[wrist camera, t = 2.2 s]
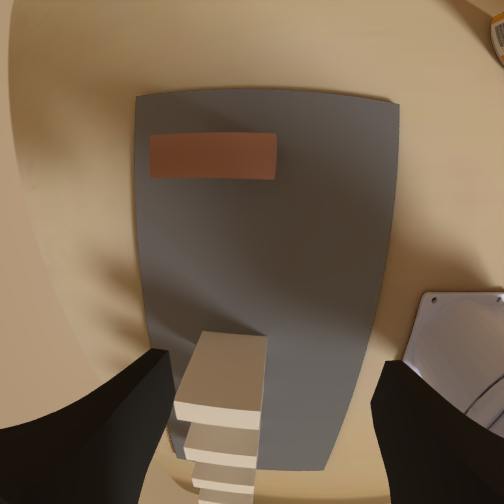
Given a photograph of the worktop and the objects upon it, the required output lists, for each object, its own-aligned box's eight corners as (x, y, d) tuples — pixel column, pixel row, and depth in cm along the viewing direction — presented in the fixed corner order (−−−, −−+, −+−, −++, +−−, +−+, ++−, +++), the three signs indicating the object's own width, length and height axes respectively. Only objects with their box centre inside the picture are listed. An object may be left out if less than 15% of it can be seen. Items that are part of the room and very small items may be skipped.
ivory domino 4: (212, 441, 25) (197, 499, 18) (258, 446, 24) (252, 506, 18) (213, 450, 25) (199, 505, 18) (257, 454, 25) (251, 512, 18)
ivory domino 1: (202, 330, 20) (172, 400, 14) (267, 336, 20) (260, 411, 13) (203, 349, 21) (177, 419, 14) (265, 354, 21) (258, 429, 14)
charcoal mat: (396, 105, 15) (399, 104, 15) (323, 466, 26) (323, 470, 25) (139, 97, 16) (136, 96, 16) (178, 454, 27) (177, 458, 26)
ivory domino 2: (205, 377, 22) (183, 447, 15) (263, 383, 21) (256, 456, 15) (207, 391, 22) (186, 459, 16) (262, 397, 22) (255, 468, 15)
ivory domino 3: (209, 414, 23) (191, 478, 17) (260, 419, 23) (254, 486, 16) (210, 424, 24) (193, 486, 17) (260, 429, 23) (253, 494, 17)
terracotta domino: (199, 142, 17) (150, 135, 10) (277, 142, 16) (275, 133, 10) (198, 168, 17) (150, 178, 10) (276, 170, 17) (274, 179, 10)
